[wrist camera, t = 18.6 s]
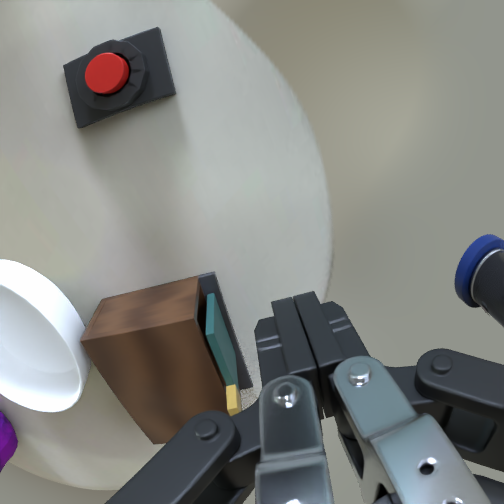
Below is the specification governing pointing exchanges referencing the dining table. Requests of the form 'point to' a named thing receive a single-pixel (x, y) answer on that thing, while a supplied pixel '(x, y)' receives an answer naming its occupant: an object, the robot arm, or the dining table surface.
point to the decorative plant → (6, 440)
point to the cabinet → (162, 354)
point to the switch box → (137, 85)
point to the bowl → (39, 342)
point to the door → (223, 353)
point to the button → (106, 73)
